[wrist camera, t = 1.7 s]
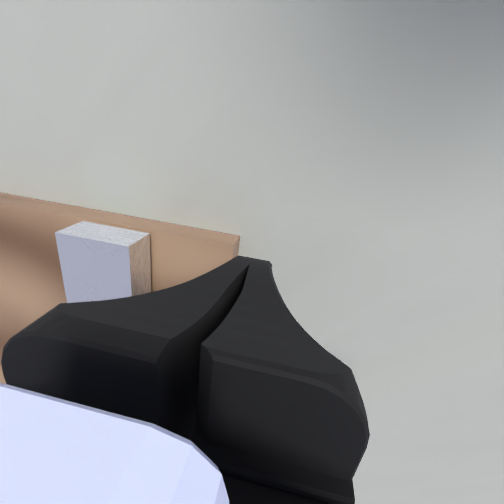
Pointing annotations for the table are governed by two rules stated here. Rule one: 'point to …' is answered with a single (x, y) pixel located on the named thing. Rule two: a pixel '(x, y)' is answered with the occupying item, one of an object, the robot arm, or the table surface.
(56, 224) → the base plate
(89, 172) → the table surface
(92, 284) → the grey link
